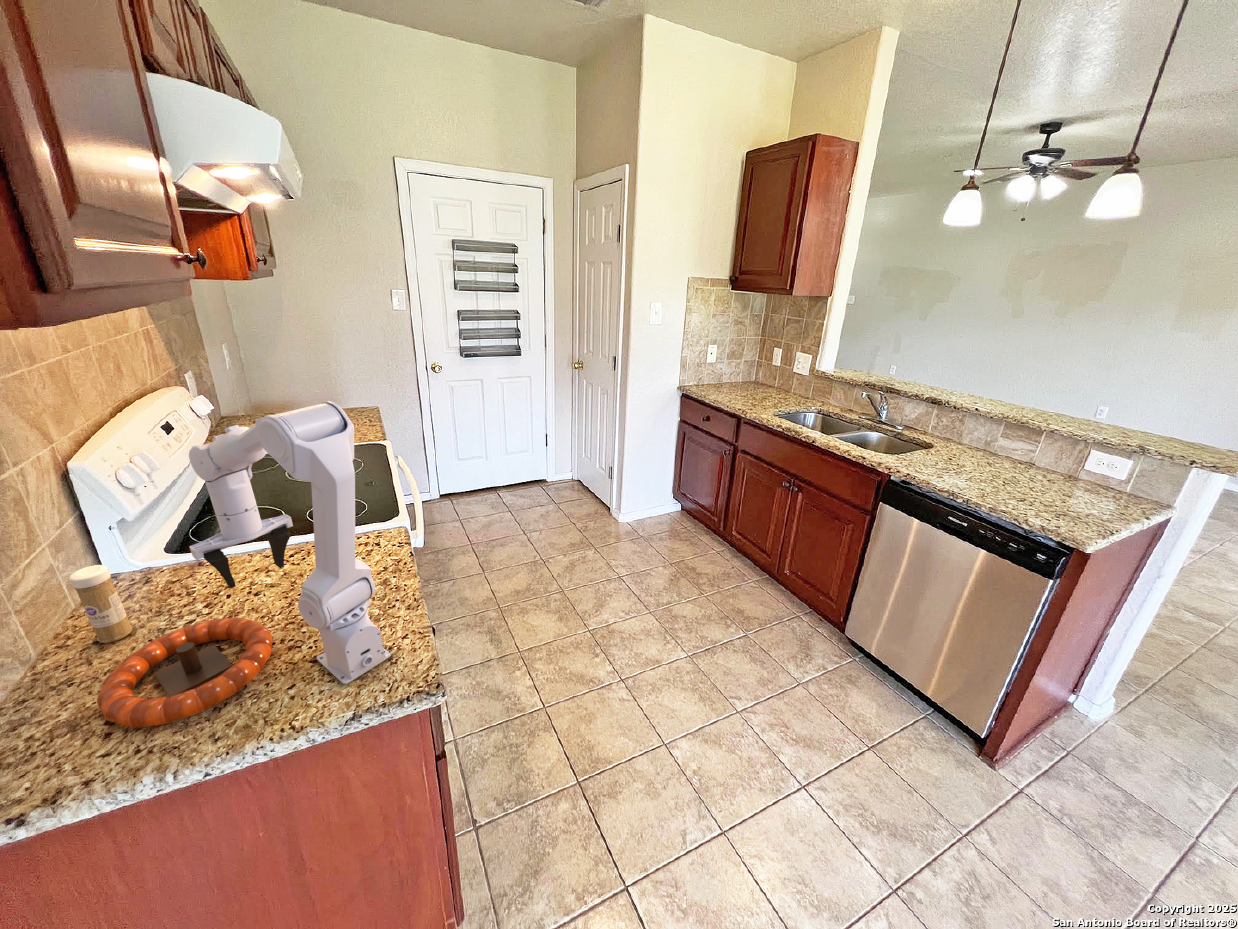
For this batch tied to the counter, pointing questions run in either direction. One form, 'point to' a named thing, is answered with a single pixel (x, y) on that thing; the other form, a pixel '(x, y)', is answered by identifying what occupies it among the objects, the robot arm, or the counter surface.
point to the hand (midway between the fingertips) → (256, 575)
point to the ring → (143, 712)
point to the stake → (192, 669)
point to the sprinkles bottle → (101, 603)
